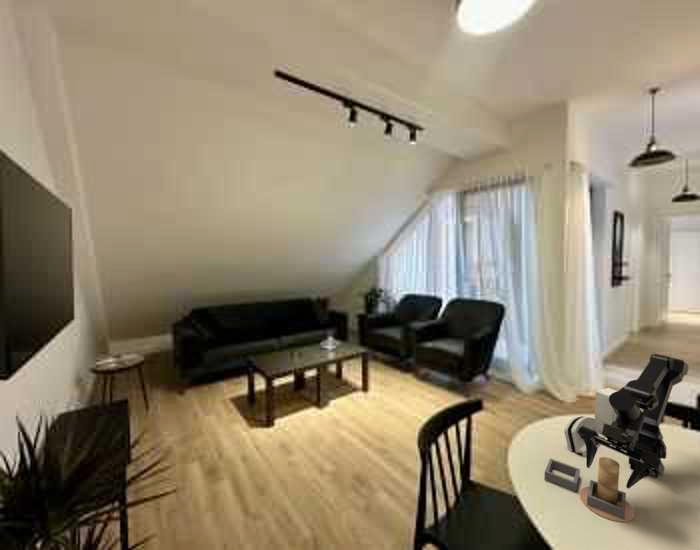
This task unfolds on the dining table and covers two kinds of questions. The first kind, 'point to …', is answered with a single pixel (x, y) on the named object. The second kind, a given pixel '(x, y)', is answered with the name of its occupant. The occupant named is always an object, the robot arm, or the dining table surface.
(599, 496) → the rod
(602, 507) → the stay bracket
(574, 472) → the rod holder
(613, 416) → the skincare box
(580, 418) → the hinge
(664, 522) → the dining table surface
